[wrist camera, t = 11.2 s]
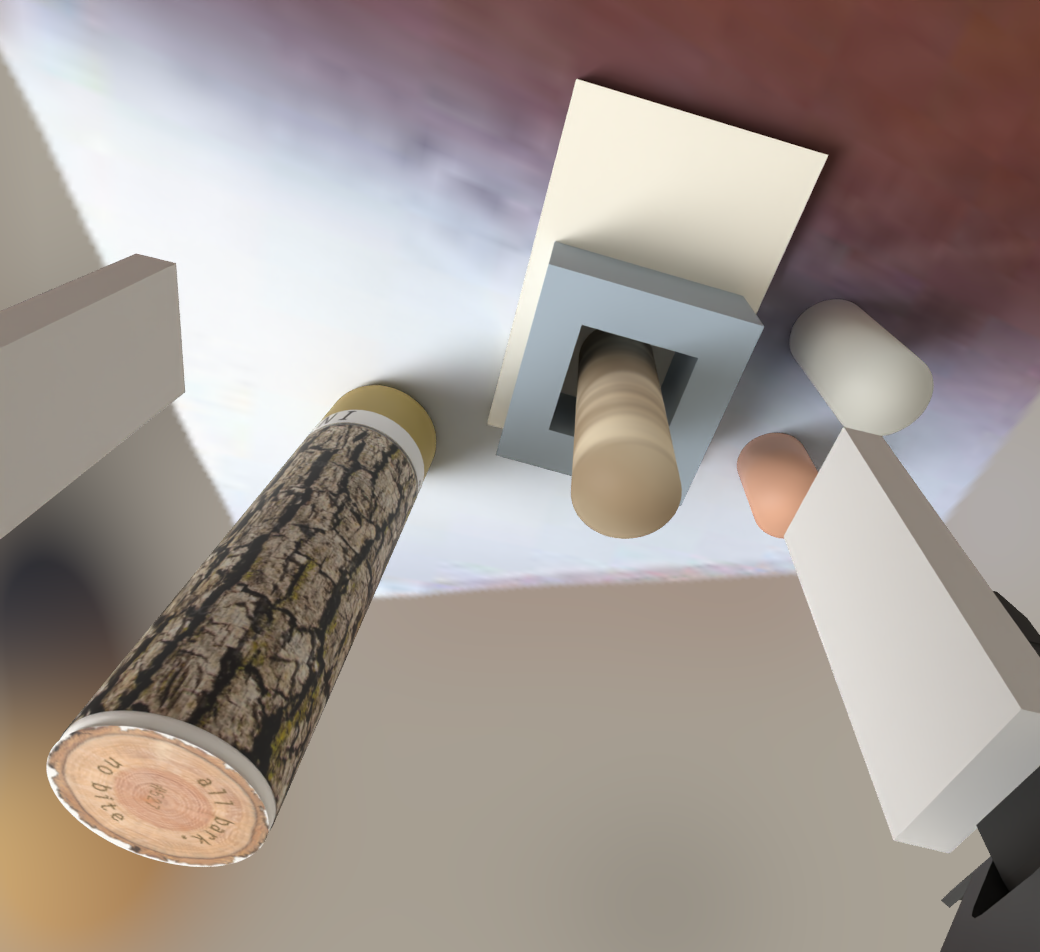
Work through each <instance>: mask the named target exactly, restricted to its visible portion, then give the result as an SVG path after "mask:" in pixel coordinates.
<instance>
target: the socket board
mask: <svg viewBox="0 0 1040 952" xmlns="http://www.w3.org/2000/svg"><path fill="white" fill-rule="evenodd" d="M827 157H828V155H826V154H823V153H819V152H816V151H813V150H810V149H806V148H803V147H800V146H796V145H793V144H790V143H786V142H783V141H780V140H777V139H773V138H770V137H767V136H763V135H760V134H757V133H753V132H750V131H747V130H744V129H740V128H737V127H734V126H730V125H727V124H724V123H720V122H717V121H714V120H711V119H707V118H704V117H701V116H697V115H694V114H691V113H687V112H684V111H681V110H678V109H674V108H671V107H668V106H664V105H661V104H658V103H654V102H651V101H648V100H645V99H641V98H638V97H635V96H631V95H628V94H625V93H621V92H618V91H615V90H612V89H608V88H605V87H602V86H598V85H595V84H592V83H588V82H585V81H582V80H579V79H576V83H575V86H574V90H573V94H572V98H571V102H570V106H569V110H568V113H567V117H566V121H565V125H564V129H563V133H562V136H561V140H560V144H559V148H558V152H557V156H556V160H555V163H554V167H553V171H552V175H551V179H550V183H549V186H548V190H547V194H546V198H545V202H544V206H543V210H542V213H541V217H540V221H539V225H538V229H537V233H536V236H535V240H534V244H533V248H532V252H531V256H530V260H529V263H528V267H527V271H526V275H525V279H524V283H523V286H522V290H521V294H520V298H519V302H518V306H517V310H516V313H515V317H514V321H513V325H512V329H511V333H510V337H509V340H508V344H507V348H506V352H505V356H504V360H503V363H502V367H501V371H500V375H499V379H498V383H497V387H496V390H495V394H494V398H493V402H492V406H491V410H490V413H489V417H488V421H487V425H491V426H494V427H498V428H502V429H503V431H502V435H501V439H500V442H499V446H498V449H497V453H496V455H498V456H501V457H505V458H508V459H512V460H516V461H519V462H523V463H527V464H530V465H534V466H537V467H541V468H545V469H548V470H552V471H555V472H559V473H563V474H566V475H570V476H572V465H573V448H574V432H575V415H576V398H577V381H578V364H579V353H580V349H581V346H582V344H583V342H584V341H585V339H586V338H587V337H588V336H589V335H590V333H592V332H593V331H594V330H596V329H599V330H602V331H606V332H609V333H612V334H616V335H619V336H623V337H626V338H630V339H633V340H637V341H640V342H644V343H647V344H650V345H651V347H652V351H653V356H654V360H655V365H656V370H657V374H658V379H659V383H660V388H661V393H662V397H663V402H664V407H665V411H666V416H667V421H668V425H669V430H670V434H671V439H672V444H673V448H674V453H675V458H676V462H677V467H678V471H679V476H680V481H681V487H682V496H681V501H680V504H679V506H681V505H682V503H683V501H684V498H685V496H686V494H687V492H688V490H689V488H690V485H691V483H692V481H693V479H694V477H695V475H696V473H697V470H698V468H699V466H700V464H701V462H702V460H703V457H704V455H705V453H706V451H707V449H708V447H709V445H710V442H711V440H712V438H713V436H714V434H715V432H716V429H717V427H718V425H719V423H720V421H721V419H722V417H723V414H724V412H725V410H726V408H727V406H728V404H729V401H730V399H731V397H732V395H733V393H734V391H735V389H736V386H737V384H738V382H739V380H740V378H741V376H742V373H743V371H744V369H745V367H746V365H747V363H748V361H749V358H750V356H751V354H752V352H753V350H754V348H755V345H756V343H757V341H758V339H759V337H760V335H761V333H762V330H763V328H764V325H763V324H762V322H761V321H760V320H759V318H758V317H757V315H756V314H757V311H758V309H759V307H760V305H761V303H762V300H763V298H764V296H765V294H766V291H767V289H768V287H769V285H770V283H771V280H772V278H773V276H774V274H775V272H776V269H777V267H778V265H779V263H780V261H781V258H782V256H783V254H784V252H785V250H786V247H787V245H788V243H789V241H790V239H791V236H792V234H793V232H794V230H795V227H796V225H797V223H798V221H799V219H800V216H801V214H802V212H803V210H804V208H805V205H806V203H807V201H808V199H809V197H810V194H811V192H812V190H813V188H814V186H815V183H816V181H817V179H818V177H819V175H820V172H821V170H822V168H823V166H824V164H825V161H826V159H827Z"/></svg>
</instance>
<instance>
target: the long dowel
mask: <svg viewBox="0 0 1040 952" xmlns="http://www.w3.org/2000/svg"><path fill="white" fill-rule="evenodd" d="M681 496H682V487H681V481H680V476H679V471H678V467H677V462H676V458H675V453H674V448H673V444H672V439H671V434H670V430H669V425H668V421H667V416H666V411H665V407H664V402H663V397H662V393H661V388H660V383H659V379H658V374H657V370H656V365H655V360H654V356H653V351H652V347H651V345H650V344H647V343H644V342H640V341H637V340H633V339H630V338H626V337H623V336H619V335H616V334H612V333H609V332H606V331H602V330H599V329H596V330H594V331H593V332H592V333H590V335H589V336H588V337H587V338H586V339H585V341H584V342H583V344H582V346H581V349H580V353H579V364H578V381H577V398H576V415H575V432H574V448H573V465H572V482H571V499H572V504H573V506H574V509H575V511H576V513H577V515H578V516H579V517H580V519H581V520H582V521H583V522H584V523H585V524H586V525H587V526H588V527H590V528H591V529H593V530H594V531H596V532H598V533H600V534H603V535H606V536H609V537H614V538H622V539H629V538H637V537H642V536H645V535H648V534H651V533H653V532H655V531H657V530H658V529H660V528H661V527H663V526H664V525H665V524H666V523H667V522H668V521H669V520H670V519H671V518H672V517H673V516H674V514H675V513H676V511H677V509H678V507H679V504H680V501H681Z"/></svg>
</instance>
